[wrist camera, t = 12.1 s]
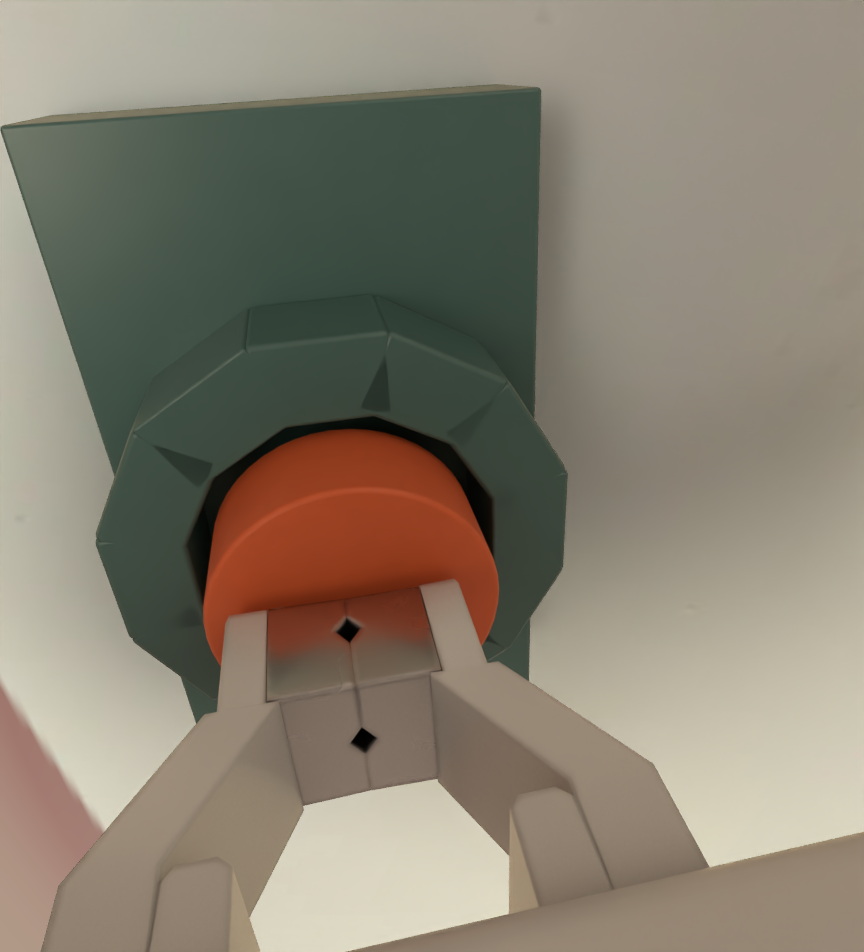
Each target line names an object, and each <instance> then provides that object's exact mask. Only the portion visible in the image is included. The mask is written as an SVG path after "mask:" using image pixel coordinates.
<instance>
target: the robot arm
mask: <svg viewBox="0 0 864 952" xmlns="http://www.w3.org/2000/svg"><path fill="white" fill-rule="evenodd" d="M433 779H438V782H439V783H440V784H441V785H442V786H443V787H444V788H445V789H446V790H447V791H448V792H449V793H450V794H451V796H452V797H453V798H454V799H455V800H456V801H457V802H458V803H459V804H460V805H461V806H462V807H463V808H464V809H465V810H466V811H467V812H468V813H469V814H470V815H471V816H472V818H473V819H474V820H475V821H476V822H477V823H478V824H479V825H480V826H481V827H482V828H483V829H484V830H485V831H486V832H487V833H488V834H489V835H490V836H491V837H492V838H493V840H494V841H495V842H496V843H497V844H498V845H499V846H500V847H501V848H502V849H503V850H504V851H505V852H506V853H507V854H508V855H509V914H507V915H503V916H499V917H494V918H490V919H486V920H481V921H477V922H473V923H468V924H464V925H460V926H455V927H451V928H447V929H443V930H438V931H434V932H430V933H425V934H421V935H417V936H412V937H408V938H404V939H399V940H395V941H391V942H386V943H382V944H378V945H373V946H369V947H365V948H360V949H356V950H352V951H347V952H864V832H861V833H856V834H852V835H848V836H843V837H839V838H835V839H830V840H826V841H822V842H817V843H813V844H809V845H804V846H800V847H796V848H791V849H787V850H783V851H778V852H774V853H770V854H765V855H761V856H757V857H752V858H748V859H744V860H739V861H735V862H731V863H726V864H722V865H718V866H714V867H709V865H708V864H707V862H706V860H705V858H704V856H703V854H702V853H701V851H700V849H699V847H698V845H697V843H696V842H695V840H694V838H693V836H692V834H691V832H690V831H689V829H688V827H687V825H686V823H685V821H684V819H683V818H682V816H681V814H680V812H679V810H678V808H677V807H676V805H675V803H674V801H673V799H672V797H671V796H670V794H669V792H668V790H667V788H666V786H665V785H664V783H663V781H662V779H661V777H660V775H659V774H658V772H657V770H656V768H655V766H654V764H653V763H651V762H650V761H648V760H647V759H645V758H644V757H642V756H641V755H639V754H638V753H636V752H635V751H633V750H631V749H630V748H628V747H627V746H625V745H624V744H622V743H621V742H619V741H618V740H616V739H615V738H613V737H612V736H610V735H609V734H607V733H606V732H604V731H603V730H601V729H600V728H598V727H597V726H595V725H594V724H592V723H591V722H589V721H588V720H586V719H585V718H583V717H582V716H580V715H579V714H577V713H576V712H574V711H573V710H571V709H570V708H568V707H567V706H565V705H564V704H562V703H561V702H559V701H558V700H556V699H555V698H553V697H552V696H550V695H549V694H547V693H546V692H544V691H543V690H541V689H540V688H538V687H537V686H535V685H534V684H532V683H531V682H529V681H528V680H526V679H525V678H523V677H522V676H520V675H519V674H517V673H516V672H514V671H513V670H511V669H510V668H508V667H507V666H505V665H504V664H502V663H500V662H499V661H497V662H491V663H487V661H486V658H485V655H484V652H483V650H482V647H481V644H480V641H479V638H478V636H477V633H476V630H475V627H474V625H473V622H472V619H471V616H470V614H469V611H468V608H467V605H466V602H465V600H464V597H463V594H462V591H461V589H460V586H459V583H458V582H457V581H456V580H455V579H449V580H444V581H438V582H433V583H428V584H422V585H418V587H411V588H405V589H399V590H393V591H387V592H381V593H376V594H370V595H364V596H358V597H352V598H346V599H345V598H344V599H337V600H330V601H323V602H316V603H309V604H302V605H294V606H287V607H280V608H273V609H269V611H268V610H262V611H256V612H249V613H242V614H235V615H229V617H228V619H227V621H226V623H225V632H224V642H223V653H222V663H221V673H220V684H219V694H218V705H217V712H214V713H209V714H204V715H203V717H202V718H201V719H200V720H199V721H198V723H197V724H196V725H195V726H194V727H193V728H192V730H191V731H190V732H189V733H188V734H187V735H186V737H185V738H184V739H183V740H182V741H181V743H180V744H179V745H178V746H177V747H176V748H175V750H174V751H173V752H172V753H171V754H170V755H169V757H168V758H167V759H166V760H165V761H164V762H163V764H162V765H161V766H160V767H159V768H158V770H157V771H156V772H155V773H154V774H153V775H152V777H151V778H150V779H149V780H148V781H147V782H146V784H145V785H144V786H143V787H142V788H141V790H140V791H139V792H138V793H137V794H136V795H135V797H134V798H133V799H132V800H131V801H130V802H129V804H128V805H127V806H126V807H125V808H124V810H123V811H122V812H121V813H120V814H119V815H118V817H117V818H116V819H115V820H114V821H113V822H112V824H111V825H110V826H109V827H108V828H107V830H106V831H105V832H104V833H103V834H102V835H101V837H100V838H99V839H98V840H97V841H96V842H95V844H94V845H93V846H92V847H91V848H90V850H89V851H88V852H87V853H86V854H85V855H84V857H83V858H82V859H81V860H80V861H79V862H78V864H77V865H76V866H75V867H74V868H73V870H72V871H71V872H70V873H69V874H68V875H67V877H66V878H65V879H64V880H63V881H62V882H61V884H60V885H59V886H58V890H57V894H56V898H55V901H54V905H53V909H52V912H51V916H50V919H49V923H48V927H47V930H46V934H45V938H44V942H43V945H42V949H41V952H260V949H259V946H258V943H257V940H256V937H255V934H254V931H253V928H252V925H251V922H250V919H249V917H250V915H251V913H252V911H253V909H254V907H255V905H256V903H257V901H258V900H259V898H260V896H261V894H262V892H263V890H264V888H265V886H266V884H267V882H268V880H269V878H270V876H271V874H272V872H273V870H274V868H275V866H276V864H277V862H278V860H279V858H280V856H281V854H282V852H283V850H284V848H285V846H286V844H287V842H288V840H289V838H290V836H291V834H292V832H293V830H294V828H295V826H296V824H297V822H298V821H299V819H300V817H301V815H302V813H303V811H304V809H303V806H304V805H309V804H313V803H317V802H322V801H326V800H330V799H335V798H339V797H343V796H348V795H352V794H356V793H361V792H365V791H369V790H375V789H381V788H386V787H392V786H398V785H404V784H410V783H415V782H421V781H427V780H433ZM370 784H371V785H370Z"/></svg>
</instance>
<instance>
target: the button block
mask: <svg viewBox="0 0 864 952" xmlns="http://www.w3.org/2000/svg"><path fill="white" fill-rule="evenodd" d="M540 118H541V90H540V88H538V87H525V86H512V85H499V84H495V85H481V86H466V87H452V88H438V89H423V90H409V91H395V92H381V93H366V94H352V95H338V96H323V97H309V98H295V99H281V100H266V101H252V102H238V103H223V104H209V105H195V106H180V107H166V108H152V109H138V110H123V111H109V112H95V113H80V114H66V115H52V116H46V117H41V118H36V119H31V120H27V121H22V122H17V123H13V124H8V125H3V126H2V127H1V129H0V131H1V134H2V137H3V140H4V143H5V146H6V149H7V152H8V155H9V158H10V161H11V164H12V167H13V170H14V173H15V176H16V179H17V182H18V185H19V188H20V191H21V194H22V197H23V200H24V203H25V206H26V209H27V212H28V216H29V219H30V222H31V225H32V228H33V231H34V234H35V237H36V240H37V243H38V246H39V249H40V252H41V255H42V258H43V261H44V264H45V267H46V270H47V273H48V276H49V279H50V282H51V285H52V288H53V291H54V294H55V297H56V300H57V303H58V306H59V309H60V312H61V315H62V318H63V321H64V325H65V328H66V331H67V334H68V337H69V340H70V343H71V346H72V349H73V352H74V355H75V358H76V361H77V364H78V367H79V370H80V373H81V376H82V379H83V382H84V385H85V388H86V391H87V394H88V397H89V400H90V403H91V406H92V409H93V412H94V415H95V418H96V421H97V424H98V427H99V430H100V434H101V437H102V440H103V443H104V446H105V449H106V452H107V455H108V458H109V461H110V464H111V467H112V470H113V473H114V476H115V478H114V481H113V484H112V487H111V490H110V493H109V496H108V499H107V502H106V505H105V508H104V511H103V514H102V517H101V520H100V522H99V525H98V528H97V531H96V538H97V540H96V547H97V549H98V552H99V555H100V558H101V560H102V563H103V566H104V568H105V571H106V574H107V577H108V579H109V582H110V585H111V587H112V590H113V593H114V596H115V598H116V601H117V604H118V607H119V609H120V612H121V615H122V617H123V620H124V623H125V626H126V628H127V631H128V634H129V636H130V637H131V638H133V641H134V642H135V643H136V644H137V645H139V646H140V647H141V648H143V649H144V650H145V651H147V652H148V653H149V654H151V655H152V656H153V657H155V658H156V659H158V660H159V661H160V662H162V663H163V664H164V665H166V666H167V667H168V668H170V669H171V670H172V671H174V672H175V673H177V674H178V675H179V676H181V679H182V682H183V685H184V688H185V691H186V694H187V697H188V700H189V703H190V706H191V709H192V712H193V715H194V718H195V721H196V724H197V723H198V721H199V720H200V719H201V718H202V717H203V715H204V714H209V713H214V712H217V705H218V694H219V684H220V673H221V666H220V665H219V663H218V661H217V660H216V658H215V656H214V655H213V653H212V651H211V648H210V646H209V643H208V641H207V638H206V633H205V628H204V623H203V604H204V597H205V589H206V582H207V575H208V567H209V560H210V553H211V546H212V538H213V532H214V525H215V521H216V518H217V515H218V511H219V508H220V506H221V504H222V502H223V500H224V498H225V496H226V494H227V493H228V491H229V490H230V489H231V487H232V486H233V484H234V483H235V482H236V480H237V479H238V478H239V477H240V476H241V475H242V474H243V473H244V472H245V471H246V470H247V469H248V468H249V467H250V466H251V465H252V464H253V463H255V462H256V461H257V460H258V459H260V458H261V457H262V456H264V455H265V454H267V453H269V452H270V451H272V450H274V449H275V448H277V447H279V446H281V445H283V444H285V443H287V442H290V441H292V440H294V439H297V438H300V437H303V436H306V435H309V434H312V433H318V432H323V431H328V430H338V429H367V430H373V431H379V432H385V433H388V434H391V435H395V436H398V437H402V438H404V439H406V440H408V441H411V442H413V443H415V444H418V445H419V446H421V447H422V448H424V449H426V450H427V451H429V452H431V453H432V454H433V455H434V456H436V457H437V458H438V459H439V460H440V461H442V462H443V463H444V464H445V465H446V466H447V467H448V469H449V470H450V471H451V472H452V473H453V474H454V476H455V477H456V479H457V480H458V482H459V483H460V485H461V486H462V489H463V491H464V493H465V495H466V497H467V500H468V502H469V504H470V506H471V509H472V511H473V513H474V515H475V518H476V520H477V522H478V525H479V527H480V529H481V531H482V534H483V536H484V538H485V540H486V543H487V545H488V547H489V550H490V552H491V554H492V556H493V559H494V562H495V565H496V569H497V573H498V582H499V596H498V606H497V610H496V614H495V619H494V622H493V624H492V627H491V629H490V632H489V634H488V636H487V638H486V640H485V641H484V643H483V645H482V650H483V652H484V655H485V658H486V661H487V663H491V662H497V661H499V662H500V663H502V664H504V665H505V666H507V667H508V668H510V669H511V670H513V671H514V672H516V673H517V674H519V675H520V676H522V677H523V678H525V679H526V680H528V681H529V647H530V617H531V615H532V614H533V612H534V611H535V609H536V608H537V606H538V605H539V603H540V602H541V600H542V599H543V597H544V596H545V595H546V593H547V592H548V590H549V589H550V587H551V586H552V584H553V583H554V581H555V580H556V578H557V577H558V575H559V574H560V572H561V570H562V567H563V556H564V535H565V515H566V495H567V475H568V474H567V472H566V470H565V467H564V464H563V463H562V461H561V460H560V458H559V457H558V455H557V454H556V452H555V451H554V449H553V448H552V446H551V444H550V443H549V441H548V440H547V438H546V437H545V435H544V434H543V432H542V431H541V429H540V428H539V426H538V424H537V423H536V421H535V420H534V407H535V359H536V310H537V262H538V214H539V166H540Z"/></svg>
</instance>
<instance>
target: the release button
mask: <svg viewBox="0 0 864 952" xmlns="http://www.w3.org/2000/svg"><path fill="white" fill-rule="evenodd" d="M449 579H455V580H456V581H457V582H458V583H459V586H460V589H461V591H462V594H463V597H464V600H465V602H466V605H467V608H468V611H469V614H470V616H471V619H472V622H473V625H474V627H475V630H476V633H477V636H478V638H479V641H480V644H481V647H482V645H483V643H484V641H485V640H486V638H487V636H488V634H489V632H490V629H491V627H492V624H493V622H494V619H495V614H496V610H497V606H498V596H499V582H498V573H497V569H496V565H495V562H494V559H493V556H492V554H491V552H490V550H489V547H488V545H487V543H486V540H485V538H484V536H483V534H482V531H481V529H480V527H479V525H478V522H477V520H476V518H475V515H474V513H473V511H472V509H471V506H470V504H469V502H468V500H467V497H466V495H465V493H464V491H463V489H462V486H461V485H460V483H459V482H458V480H457V479H456V477H455V476H454V474H453V473H452V472H451V471H450V470H449V469H448V467H447V466H446V465H445V464H444V463H443V462H442V461H440V460H439V459H438V458H437V457H436V456H434V455H433V454H432V453H431V452H429V451H427V450H426V449H424V448H422V447H421V446H419V445H418V444H415V443H413V442H411V441H408V440H406V439H404V438H402V437H398V436H395V435H391V434H388V433H385V432H379V431H373V430H367V429H338V430H328V431H323V432H318V433H312V434H309V435H306V436H303V437H300V438H297V439H294V440H292V441H290V442H287V443H285V444H283V445H281V446H279V447H277V448H275V449H274V450H272V451H270V452H269V453H267V454H265V455H264V456H262V457H261V458H260V459H258V460H257V461H256V462H255V463H253V464H252V465H251V466H250V467H249V468H248V469H247V470H246V471H245V472H244V473H243V474H242V475H241V476H240V477H239V478H238V479H237V480H236V482H235V483H234V484H233V486H232V487H231V489H230V490H229V491H228V493H227V494H226V496H225V498H224V500H223V502H222V504H221V506H220V508H219V511H218V515H217V518H216V521H215V525H214V532H213V538H212V546H211V553H210V560H209V567H208V575H207V582H206V589H205V597H204V604H203V623H204V628H205V633H206V638H207V641H208V643H209V646H210V648H211V651H212V653H213V655H214V656H215V658H216V660H217V661H218V663H219V665H220V666H221V663H222V653H223V642H224V632H225V623H226V621H227V619H228V617H229V615H235V614H242V613H249V612H256V611H262V610H268V611H269V609H273V608H280V607H287V606H294V605H302V604H309V603H316V602H323V601H330V600H337V599H344V598H345V599H346V598H352V597H358V596H364V595H370V594H376V593H381V592H387V591H393V590H399V589H405V588H411V587H418V585H422V584H428V583H433V582H438V581H444V580H449Z"/></svg>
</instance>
